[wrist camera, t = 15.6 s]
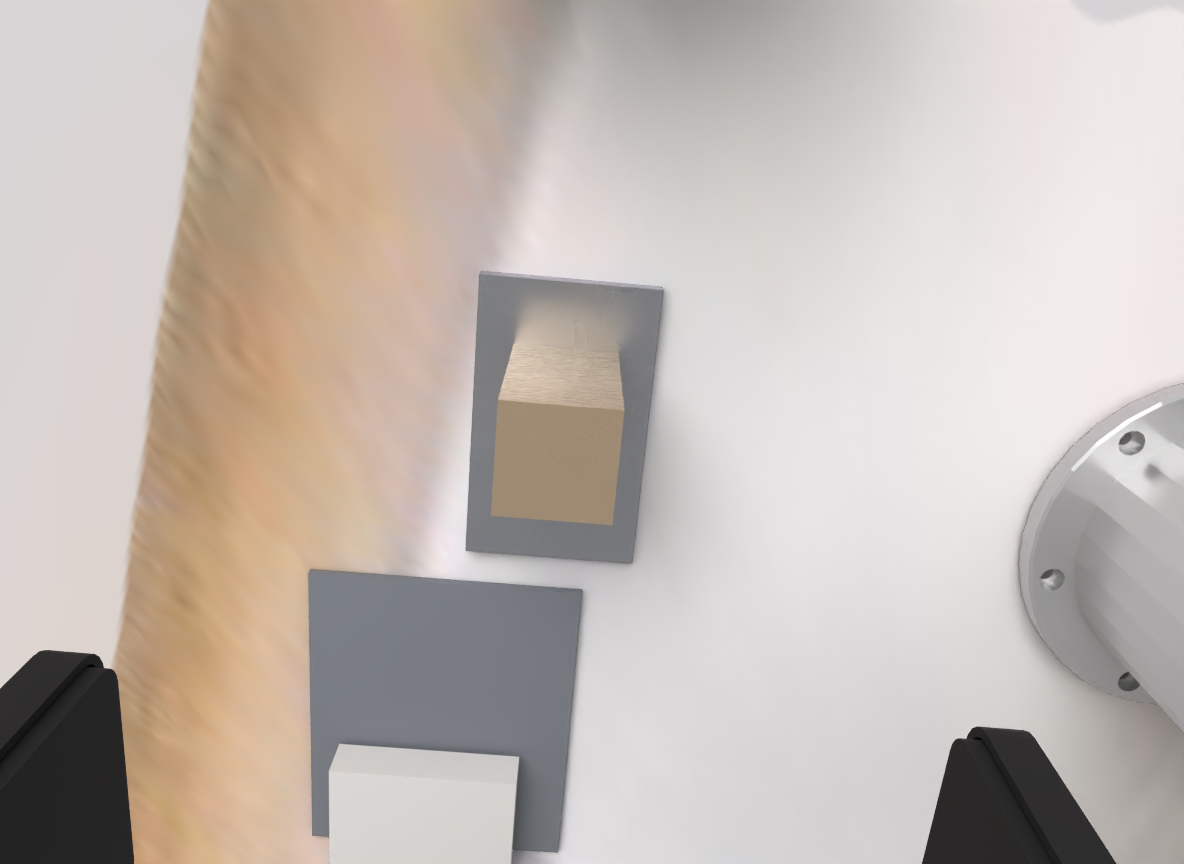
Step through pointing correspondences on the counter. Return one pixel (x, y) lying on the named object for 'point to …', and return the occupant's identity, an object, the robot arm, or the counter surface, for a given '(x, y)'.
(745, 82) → the counter surface
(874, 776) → the counter surface
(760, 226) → the counter surface
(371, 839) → the tile
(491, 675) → the mat
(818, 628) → the counter surface
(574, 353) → the trowel
